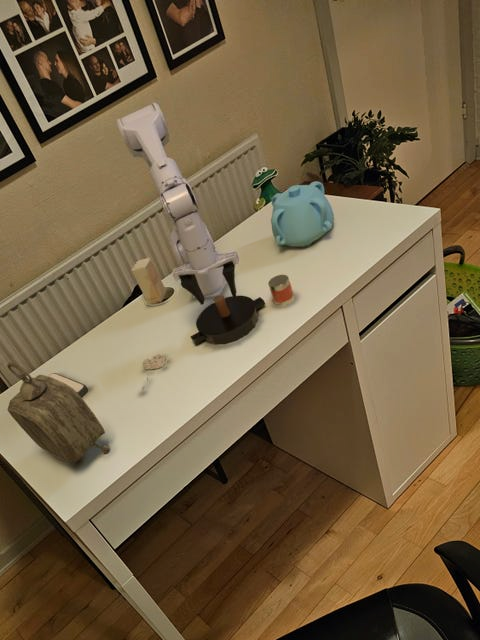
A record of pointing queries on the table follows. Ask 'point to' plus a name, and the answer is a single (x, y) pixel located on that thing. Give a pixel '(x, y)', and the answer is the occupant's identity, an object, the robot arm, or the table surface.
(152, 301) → the box
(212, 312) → the pan lid
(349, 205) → the table surface
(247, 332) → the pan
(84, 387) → the phone case
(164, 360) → the game controller
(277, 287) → the can
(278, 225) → the decorative pot
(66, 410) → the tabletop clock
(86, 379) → the table surface
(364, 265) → the table surface
